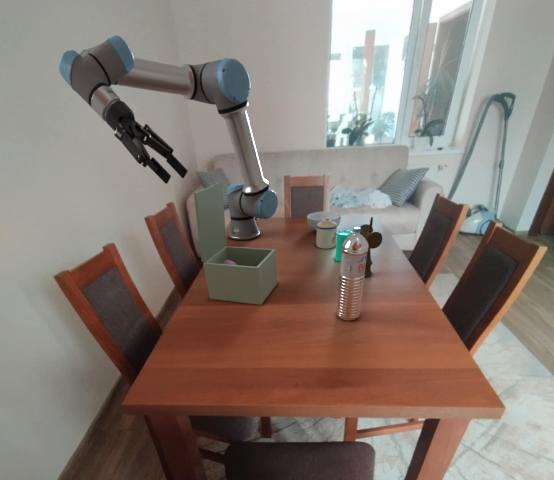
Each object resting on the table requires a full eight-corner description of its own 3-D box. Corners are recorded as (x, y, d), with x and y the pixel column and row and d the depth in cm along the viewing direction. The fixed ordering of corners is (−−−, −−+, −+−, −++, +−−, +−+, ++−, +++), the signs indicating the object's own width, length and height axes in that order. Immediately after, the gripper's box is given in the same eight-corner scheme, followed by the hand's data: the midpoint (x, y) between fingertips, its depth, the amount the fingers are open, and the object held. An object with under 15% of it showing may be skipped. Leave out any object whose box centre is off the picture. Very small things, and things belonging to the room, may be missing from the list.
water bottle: (345, 323, 94) (354, 233, 79) (331, 313, 99) (337, 227, 84) (364, 317, 97) (376, 228, 81) (350, 308, 101) (359, 222, 86)
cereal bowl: (308, 225, 173) (308, 211, 169) (339, 225, 171) (340, 210, 167) (305, 235, 160) (305, 220, 156) (340, 235, 158) (341, 219, 154)
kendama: (367, 269, 125) (374, 212, 112) (377, 279, 117) (386, 219, 105) (352, 270, 124) (358, 214, 111) (361, 281, 116) (368, 221, 104)
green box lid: (222, 182, 102) (220, 181, 103) (196, 193, 90) (193, 192, 90) (226, 245, 115) (224, 244, 115) (203, 262, 103) (201, 261, 103)
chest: (277, 283, 118) (275, 249, 110) (261, 304, 106) (258, 267, 98) (230, 279, 123) (225, 246, 115) (209, 299, 111) (202, 263, 103)
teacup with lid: (336, 248, 144) (338, 220, 136) (315, 249, 144) (316, 221, 137) (335, 240, 153) (337, 213, 146) (315, 240, 154) (316, 213, 146)
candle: (351, 257, 135) (354, 226, 127) (347, 262, 131) (350, 231, 123) (337, 255, 137) (339, 225, 129) (333, 260, 133) (335, 229, 125)
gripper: (90, 98, 82) (162, 172, 87) (142, 98, 97) (200, 161, 103) (82, 126, 86) (151, 194, 92) (133, 122, 102) (189, 180, 108)
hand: (177, 177), depth 98 cm, fingers open, 9 cm apart
